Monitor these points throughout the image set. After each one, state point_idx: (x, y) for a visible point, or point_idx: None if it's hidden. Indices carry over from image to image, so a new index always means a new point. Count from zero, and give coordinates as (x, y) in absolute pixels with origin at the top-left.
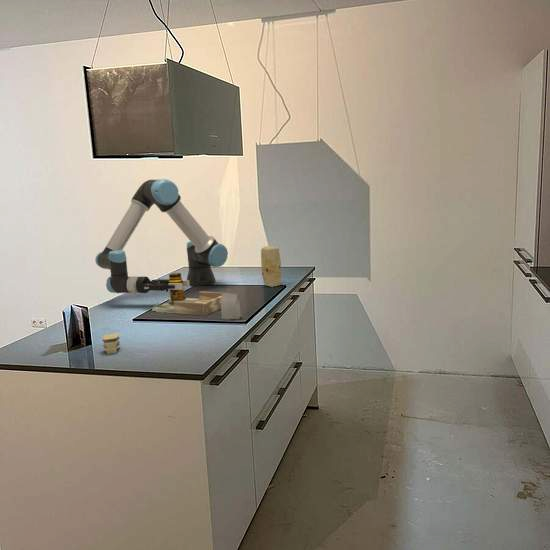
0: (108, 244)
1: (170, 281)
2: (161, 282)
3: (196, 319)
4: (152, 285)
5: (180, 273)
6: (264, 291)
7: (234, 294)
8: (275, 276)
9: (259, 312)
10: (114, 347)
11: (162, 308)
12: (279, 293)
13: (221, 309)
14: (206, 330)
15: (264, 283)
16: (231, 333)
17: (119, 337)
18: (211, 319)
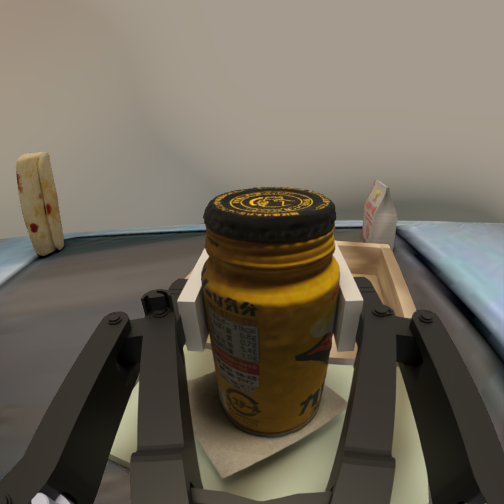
0: None
1: (336, 276)
2: (186, 456)
3: (428, 286)
4: (487, 417)
5: (244, 189)
6: (95, 250)
7: (378, 181)
8: (60, 220)
9: None
10: None
11: (413, 434)
12: (134, 233)
13: (395, 227)
14: (468, 250)
15: (41, 251)
16: (450, 229)
17: None
18: (407, 264)
